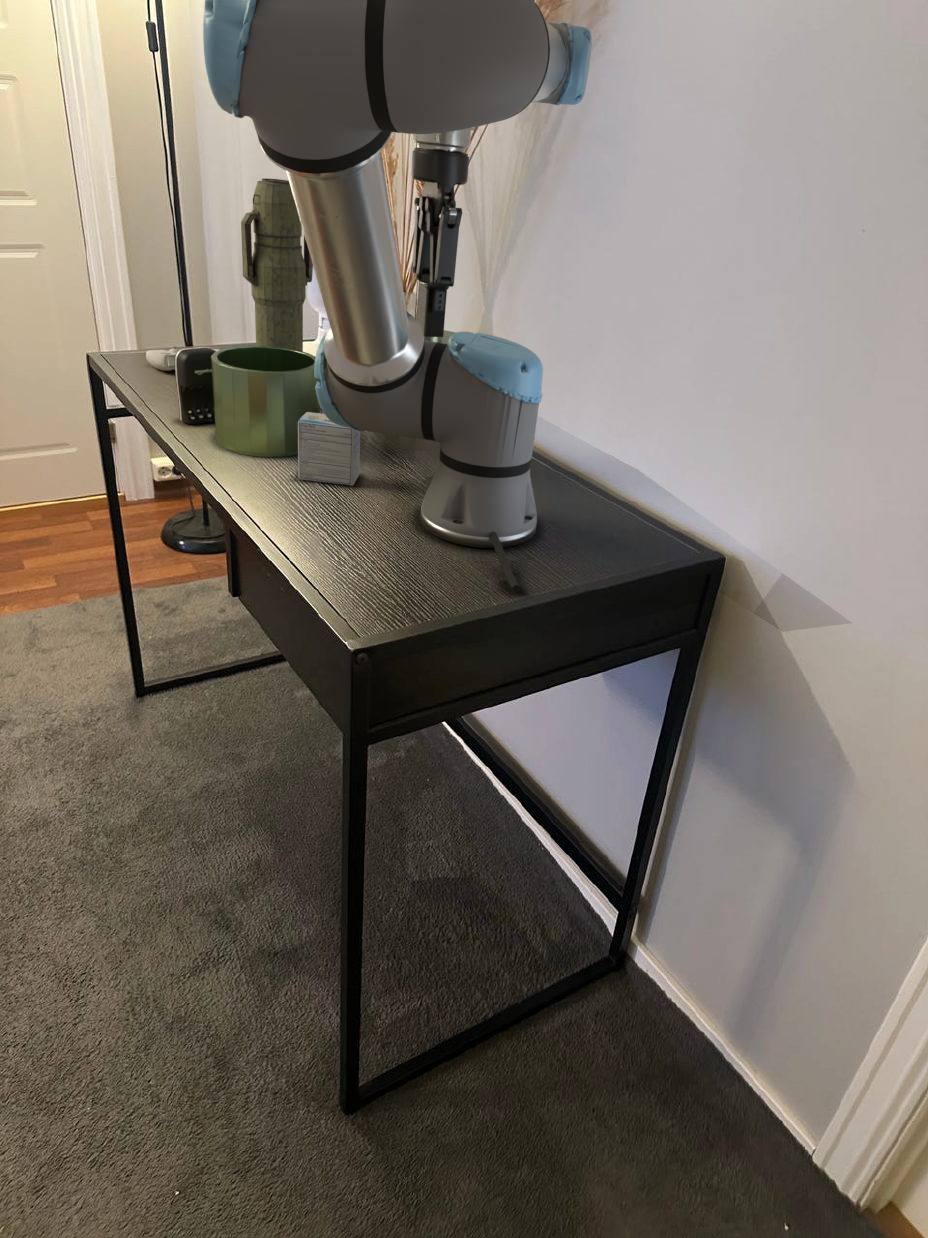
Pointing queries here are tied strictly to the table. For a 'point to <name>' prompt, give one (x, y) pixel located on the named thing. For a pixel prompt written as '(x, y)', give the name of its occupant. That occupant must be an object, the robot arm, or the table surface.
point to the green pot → (262, 398)
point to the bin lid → (421, 313)
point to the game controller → (163, 358)
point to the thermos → (276, 265)
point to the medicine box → (327, 450)
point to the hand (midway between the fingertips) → (428, 332)
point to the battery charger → (195, 385)
